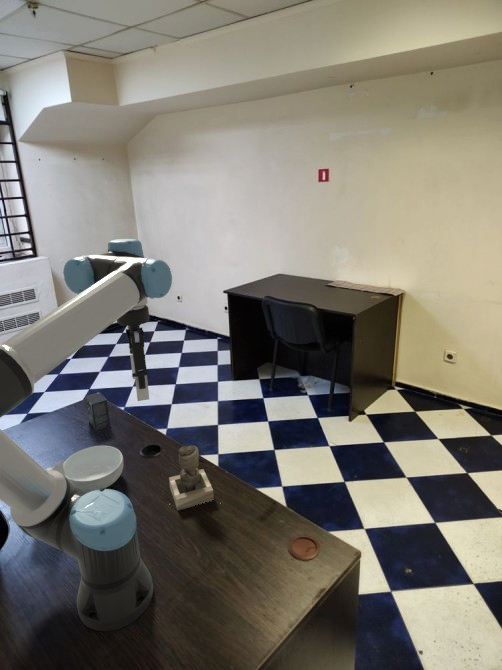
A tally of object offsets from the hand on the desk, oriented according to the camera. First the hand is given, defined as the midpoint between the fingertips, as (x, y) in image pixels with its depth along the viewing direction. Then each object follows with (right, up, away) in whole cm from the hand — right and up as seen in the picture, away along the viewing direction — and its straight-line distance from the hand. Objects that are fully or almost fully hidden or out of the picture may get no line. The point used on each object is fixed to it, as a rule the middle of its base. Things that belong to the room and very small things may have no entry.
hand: (140, 388), depth 112 cm
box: (-27, -19, +50) cm, 60 cm away
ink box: (-24, -34, +6) cm, 42 cm away
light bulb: (+11, -31, +11) cm, 35 cm away
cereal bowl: (-17, -30, +18) cm, 39 cm away
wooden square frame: (+11, -31, +12) cm, 35 cm away
